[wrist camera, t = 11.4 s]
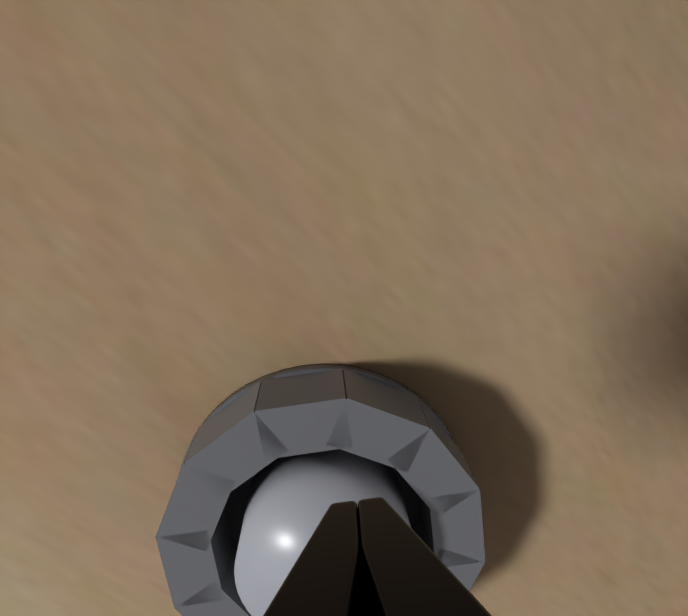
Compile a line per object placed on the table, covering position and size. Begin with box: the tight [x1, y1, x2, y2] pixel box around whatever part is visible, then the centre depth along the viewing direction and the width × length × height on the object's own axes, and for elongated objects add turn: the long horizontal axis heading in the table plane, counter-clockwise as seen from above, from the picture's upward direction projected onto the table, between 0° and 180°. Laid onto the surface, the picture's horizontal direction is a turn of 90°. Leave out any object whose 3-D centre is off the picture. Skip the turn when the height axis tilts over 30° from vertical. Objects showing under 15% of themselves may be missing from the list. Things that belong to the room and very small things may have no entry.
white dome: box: [234, 449, 411, 616], centre depth 20 cm, size 6×6×4 cm
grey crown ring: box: [156, 364, 485, 616], centre depth 20 cm, size 11×11×3 cm
